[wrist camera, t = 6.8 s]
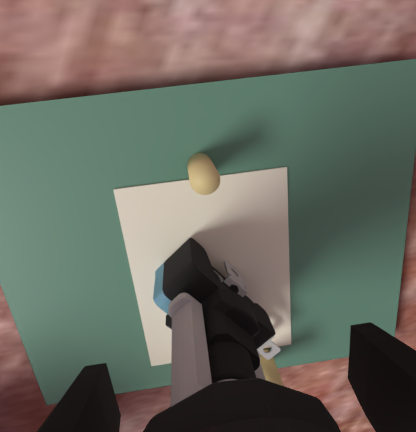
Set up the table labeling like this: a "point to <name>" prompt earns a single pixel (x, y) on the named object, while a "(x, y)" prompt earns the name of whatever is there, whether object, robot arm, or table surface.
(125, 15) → the table surface
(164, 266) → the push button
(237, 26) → the table surface
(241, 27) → the table surface
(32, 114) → the board
